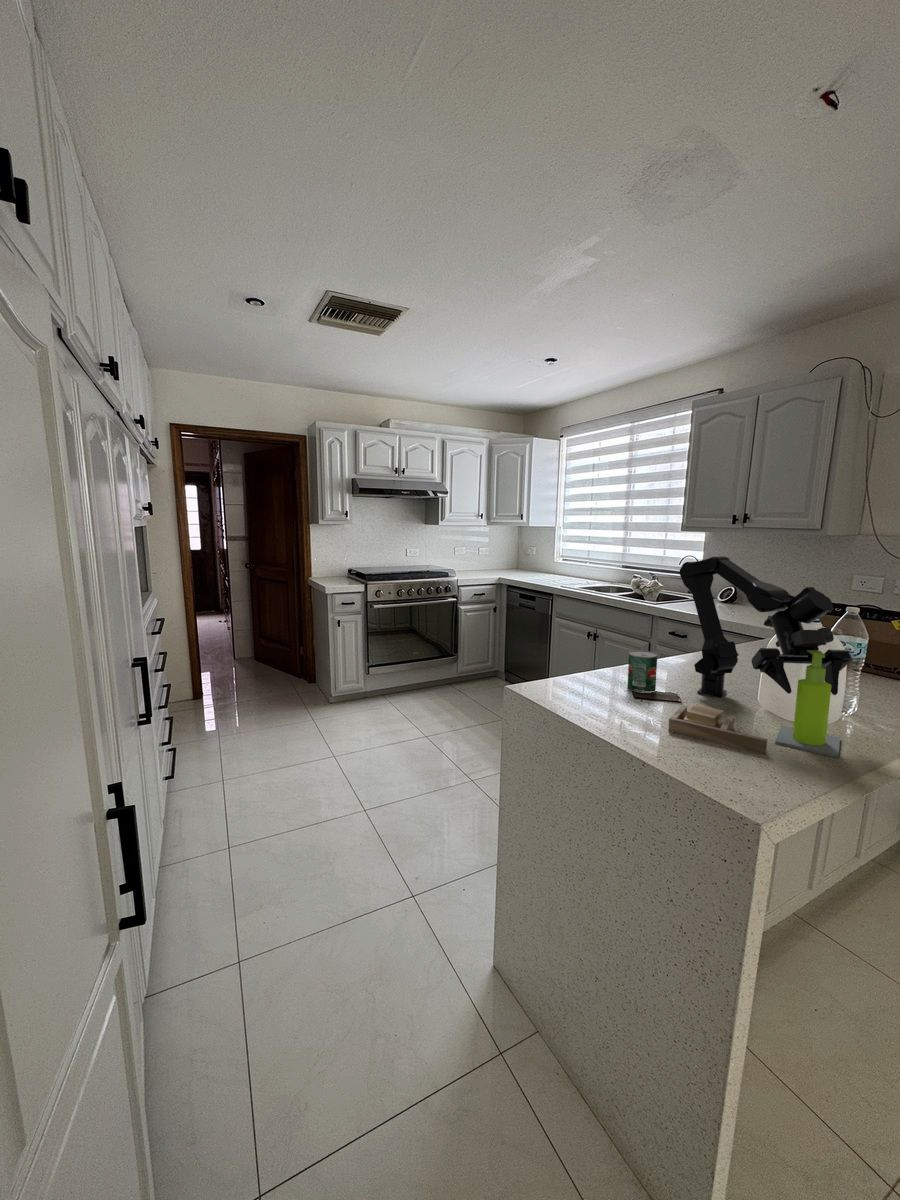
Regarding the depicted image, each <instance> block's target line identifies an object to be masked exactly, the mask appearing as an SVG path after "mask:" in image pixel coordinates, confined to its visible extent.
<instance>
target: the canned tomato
mask: <svg viewBox="0 0 900 1200" xmlns="http://www.w3.org/2000/svg"><path fill="white" fill-rule="evenodd" d="M627 666H628V667H627V668H628V669H627V687H626V689H627V690H628V691H630V692H632V690H634V689H638V690H644V691H655V690H656V689H657V687H656V686H657V670H658V668H657V667H658V653H657V652H654V651H649V650H641V649H639V650H630V651H628V665H627ZM656 691H657V690H656ZM656 691H655V692H656Z"/></svg>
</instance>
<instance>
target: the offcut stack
mask: <svg viewBox="0 0 900 1200" xmlns="http://www.w3.org/2000/svg"><path fill="white" fill-rule="evenodd" d="M723 717H724V710H722V709H719V708H714V707H710V706H706V705H701V704H695V705H694V706H692V707H691V708H689V709H687V714H686V717H685V718H684V720H685V721H690V722H694V723H699V724H703V725H707V726H712V727H716V728H721V726H722V725H723V721H722V720H721V719H722V718H723Z"/></svg>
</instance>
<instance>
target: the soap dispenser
mask: <svg viewBox="0 0 900 1200" xmlns="http://www.w3.org/2000/svg"><path fill="white" fill-rule="evenodd" d="M807 652H809V653H811V654H812V655H813V656H812V664H808V665H807V666H806V669H805V670H806V671H805V678H803V679H798V681H797V690H796V697H795V698H796V701H795V707H794V708H795V709H794V719H793V720H794V721H793V727H792V728H793V738H794V739H795V740H797V741H799V742H801V743H805V744H809V745H817V746H819V745H824V744H825V742H826V735H827V732H828V723H829V711H830V702H831V695H832V693H831V685H830V684H829V683H826V682H825V673H826V669H825V668H824V667H822V666H821V664H822V658H825V655H824V653H823V652H822V651H821V650H820V649H819V650H807Z"/></svg>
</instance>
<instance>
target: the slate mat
mask: <svg viewBox="0 0 900 1200" xmlns="http://www.w3.org/2000/svg"><path fill="white" fill-rule="evenodd" d="M793 728H794V727H792V726H786V725H781V726H780V729H779V731H778V733H777V735H776V738H775V743H774V744H776V745H779V746H784V747H789V748H794V749H798V750H802V751H806V752H810V753H816V754H818V755H823V756H827V757H831V758H837V759H839V754H840V744H841V737H839V736H835V735H829V734H826V742H825V744H824V745H819V746H817V745H809V744H805V743H801V742H799V741H797V740H795V739H794V738H793Z"/></svg>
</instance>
